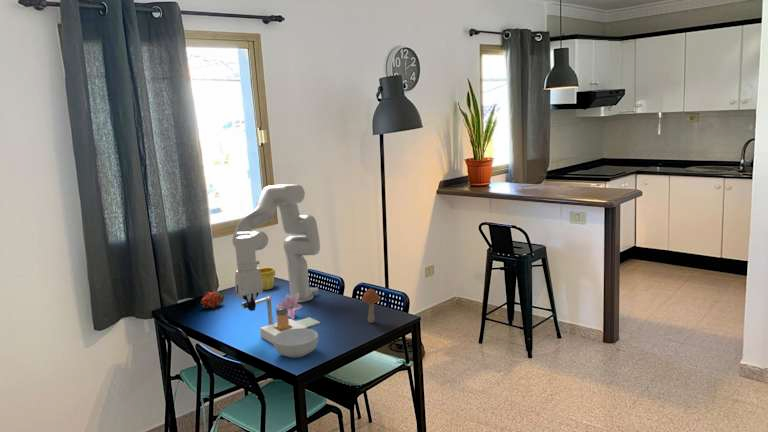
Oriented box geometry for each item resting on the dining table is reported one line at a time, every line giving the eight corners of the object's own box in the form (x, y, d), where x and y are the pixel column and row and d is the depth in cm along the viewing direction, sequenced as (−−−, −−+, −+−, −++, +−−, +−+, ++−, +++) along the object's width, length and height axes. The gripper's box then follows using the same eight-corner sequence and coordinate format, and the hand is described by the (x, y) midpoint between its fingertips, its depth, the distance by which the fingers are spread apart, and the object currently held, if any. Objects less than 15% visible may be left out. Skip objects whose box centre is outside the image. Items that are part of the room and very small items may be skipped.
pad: (309, 318, 262) (309, 317, 262) (320, 323, 255) (320, 322, 255) (291, 323, 257) (291, 322, 257) (302, 329, 250) (302, 327, 250)
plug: (286, 333, 246) (283, 306, 244) (292, 336, 243) (289, 308, 240) (276, 336, 243) (273, 308, 241) (282, 339, 240) (279, 311, 238)
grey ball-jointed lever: (269, 297, 251) (268, 292, 251) (273, 299, 249) (272, 294, 249) (240, 307, 241) (240, 302, 240) (244, 309, 239) (244, 303, 238)
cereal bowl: (280, 367, 214) (278, 348, 213) (270, 350, 230) (268, 333, 228) (325, 356, 221) (323, 338, 220) (312, 341, 236) (310, 324, 235)
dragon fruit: (227, 307, 289) (203, 316, 284) (220, 294, 294) (197, 303, 288) (226, 297, 283) (202, 306, 278) (220, 284, 288) (195, 293, 282)
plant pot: (253, 291, 308) (251, 273, 306) (260, 285, 318) (259, 267, 316) (272, 290, 306) (270, 272, 304) (279, 284, 316) (277, 267, 315)
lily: (276, 315, 272) (270, 302, 266) (296, 300, 277) (291, 286, 271) (291, 329, 264) (285, 315, 258) (311, 313, 269) (306, 299, 263)
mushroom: (384, 319, 256) (382, 285, 253) (378, 326, 248) (375, 291, 245) (367, 318, 258) (364, 285, 255) (360, 324, 251) (358, 290, 248)
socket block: (284, 324, 257) (281, 295, 255) (307, 336, 242) (305, 305, 239) (254, 333, 249) (251, 303, 246) (277, 346, 233) (274, 314, 231)
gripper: (259, 260, 244) (264, 303, 248) (225, 268, 235) (230, 312, 239) (268, 263, 238) (272, 307, 242) (233, 272, 229) (238, 317, 233)
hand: (251, 309), depth 240 cm, fingers closed
